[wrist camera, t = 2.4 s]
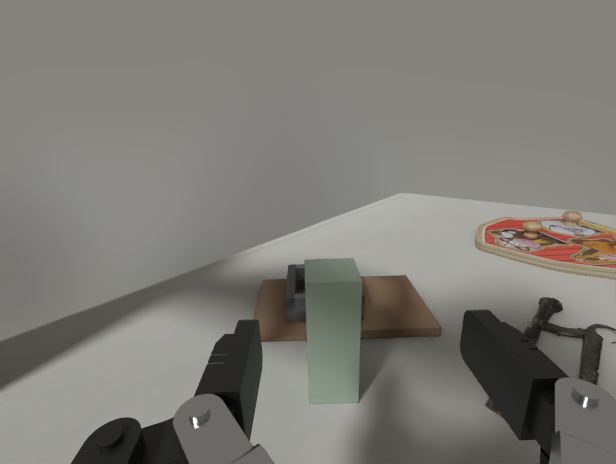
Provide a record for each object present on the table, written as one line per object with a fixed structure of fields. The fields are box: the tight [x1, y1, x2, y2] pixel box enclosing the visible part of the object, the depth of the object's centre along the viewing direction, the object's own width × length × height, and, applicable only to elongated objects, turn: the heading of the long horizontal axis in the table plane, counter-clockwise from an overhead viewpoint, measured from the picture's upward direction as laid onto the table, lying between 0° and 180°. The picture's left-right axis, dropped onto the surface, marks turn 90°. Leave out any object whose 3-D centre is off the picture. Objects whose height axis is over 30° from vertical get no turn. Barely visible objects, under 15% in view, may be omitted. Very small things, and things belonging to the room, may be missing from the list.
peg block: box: [305, 258, 362, 404], centre depth 26 cm, size 4×4×11 cm
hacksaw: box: [485, 297, 616, 418], centre depth 27 cm, size 24×10×2 cm, turn 135°
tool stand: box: [253, 264, 441, 342], centre depth 38 cm, size 20×12×4 cm, turn 91°
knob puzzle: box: [475, 211, 616, 280], centre depth 56 cm, size 29×30×4 cm
